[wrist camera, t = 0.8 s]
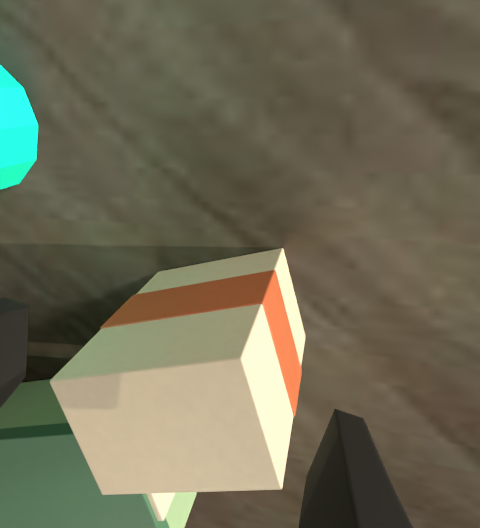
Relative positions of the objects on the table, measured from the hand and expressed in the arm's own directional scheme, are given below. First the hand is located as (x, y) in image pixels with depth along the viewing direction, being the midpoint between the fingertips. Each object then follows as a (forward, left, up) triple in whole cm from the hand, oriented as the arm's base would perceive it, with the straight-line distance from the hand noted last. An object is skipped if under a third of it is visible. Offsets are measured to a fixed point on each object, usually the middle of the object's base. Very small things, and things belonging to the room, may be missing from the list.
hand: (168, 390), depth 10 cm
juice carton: (-3, +2, -10) cm, 11 cm away
